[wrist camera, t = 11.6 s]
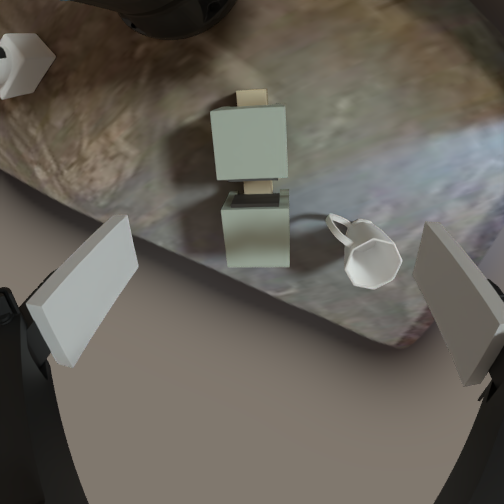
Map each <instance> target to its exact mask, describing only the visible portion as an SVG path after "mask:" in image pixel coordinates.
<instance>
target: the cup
mask: <svg viewBox="0 0 504 504" xmlns="http://www.w3.org/2000/svg"><path fill="white" fill-rule="evenodd" d="M332 220H333V221H336V222H339V223H341V224H343V225H345V226H346V227H348V228H347V231H346V234H345V235H343V234H342V233H341V232H340V230H339V229H338V228H337V227H336V226H335V224H334V222H333V221H332ZM325 221H326V224H327V226H328V228H329V229H330V231H331V232H332V233H333V235H334V236H335V237H336V238H337V239H338V240H339V241H340V242H342V243H343V244H344V245H345V247H344V270H345V271H346V273H347V275H348V276H349V278H350V280H351V281H352V283H353V285H354V286H358V287H363V288H369V289H376V288H378V287H380V286H382V285H384V284H386V283H388V282H390V281H392V280H394V278H395V276H396V274H397V272H398V270H399V267H400V265H401V263H402V258H401V256H400V254H399V252H398V249H397V247H396V245H395V243H394V242H393V241H392V240H391V239H390V238H389V237H388V236H387V235H386V234H385V233H384V232H383V231H382V230H381V229H380V228H378V227H377V226H375V225H373V224H372V222H371V221H368V220H364V219H358V220H356V221H354V222H352V223H351V222H350V221H348V220H347V219H345V218H343V217H341V216H338V215H335V214H329V215H328V216H327V218H326V220H325Z"/></svg>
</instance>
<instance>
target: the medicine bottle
mask: <svg viewBox="0 0 504 504" xmlns="http://www.w3.org/2000/svg"><path fill="white" fill-rule="evenodd" d="M55 58H56V56H55V54H54V53H53V52H52V51H51V50H50V49H49V48H48V47H47V46H46V44H45V43H44V42H43V41H42V40H41V39H40V38H39V37H38V35H37V34H35V33H9V34H4V35H3V37H2V39H1V41H0V98H1V99H2V100H4V99H8V98H12V97H16V96H20V95H25V94H30V93H33V92H34V91H35V89H36V88H37V86H38V84H39V83H40V81H41V79H42V78H43V76H44V75H45V73H46V72H47V70H48V69H49V67H50V66H51V64H52V63H53V61H54V60H55Z"/></svg>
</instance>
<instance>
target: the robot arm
mask: <svg viewBox="0 0 504 504" xmlns="http://www.w3.org/2000/svg"><path fill="white" fill-rule="evenodd" d="M61 1H68V0H61ZM69 1H74V2H79V3H84V4H88V5H92V6H96V7H100V8H104V9H108V10H112V11H116V12H117V13H118V14H119V15H120V17H121V18H122V20H123V21H124V22H125V23H126V24H127V25H128V26H129V27H130V28H131V29H133V30H134V31H136V32H138V33H140V34H142V35H145V36H148V37H152V38H156V39H162V40H178V39H184V38H188V37H192V36H194V35H197V34H200V33H202V32H204V31H206V30H208V29H209V28H211V27H212V26H214V25H215V24H217V23H218V22H219V21H220V20H221V19H222V18H224V17H225V16H226V14H227V13H228V12H229V11H230V10H231V8H232V7H233V5H234V4H235V2H236V0H69ZM137 268H138V262H137V258H136V253H135V249H134V244H133V240H132V235H131V230H130V225H129V220H128V215H113V216H112V217H111V218H110V219H108V220H107V221H106V222H105V223H104V224H103V225H102V226H101V227H100V228H99V229H98V230H97V231H96V232H95V233H93V234H92V235H91V236H90V237H89V238H88V239H87V240H86V241H85V242H84V243H83V244H82V245H81V246H80V247H79V248H78V249H77V250H76V251H75V252H74V253H73V254H72V255H71V256H70V257H69V258H68V259H67V260H66V261H65V262H64V263H63V264H62V265H61V266H60V267H59V268H58V269H56V270H55V271H53V272H52V273H50V274H49V275H48V276H47V277H46V278H45V280H44V282H42V283H41V284H40V285H39V286H38V289H35V290H34V291H33V292H32V294H31V295H30V296H29V297H28V298H27V299H26V300H25V301H24V302H23V304H22V305H21V306H20V307H18V305H17V303H16V301H15V298H14V296H13V294H12V292H11V290H10V289H9V288H7V287H2V288H0V504H89V503H88V501H87V498H86V496H85V493H84V491H83V488H82V486H81V483H80V480H79V477H78V474H77V472H76V469H75V466H74V463H73V460H72V456H71V453H70V450H69V447H68V443H67V440H66V436H65V433H64V429H63V425H62V421H61V417H60V413H59V409H58V404H57V400H56V395H55V390H54V385H53V379H52V374H51V368H50V365H49V362H48V361H47V357H48V356H49V354H50V353H51V354H52V355H53V357H54V359H55V360H56V362H57V364H60V365H64V366H68V367H71V368H73V367H74V366H75V364H76V362H77V361H78V359H79V357H80V356H81V354H82V352H83V350H84V349H85V347H86V346H87V344H88V342H89V341H90V339H91V338H92V336H93V334H94V333H95V331H96V330H97V328H98V327H99V325H100V323H101V322H102V320H103V319H104V317H105V316H106V314H107V313H108V311H109V309H110V308H111V307H112V305H113V303H114V302H115V300H116V299H117V297H118V296H119V295H120V293H121V291H122V290H123V289H124V287H125V286H126V284H127V282H128V281H129V279H130V278H131V277H132V275H133V274H134V272H135V271H136V270H137ZM413 277H414V279H415V281H416V283H417V285H418V287H419V289H420V291H421V292H422V294H423V296H424V298H425V300H426V302H427V304H428V306H429V308H430V311H431V313H432V315H433V317H434V319H435V321H436V323H437V325H438V327H439V330H440V332H441V334H442V336H443V338H444V340H445V343H446V345H447V347H448V350H449V352H450V354H451V357H452V359H453V362H454V364H455V366H456V369H457V371H458V374H459V376H460V379H461V382H462V384H463V387H465V386H470V385H476V384H480V383H481V382H482V381H483V379H484V377H485V376H486V375H487V373H488V372H489V373H490V375H491V378H492V380H491V382H490V383H489V385H488V386H487V387H486V389H485V390H484V392H483V393H482V394H481V396H480V397H479V399H478V401H480V400H481V399H482V398H483V397H484V398H483V401H482V404H481V406H480V409H479V412H478V414H477V417H476V419H475V422H474V424H473V427H472V429H471V432H470V434H469V436H468V439H467V441H466V443H465V445H464V448H463V450H462V452H461V454H460V456H459V458H458V460H457V462H456V464H455V466H454V468H453V470H452V472H451V474H450V476H449V478H448V480H447V481H446V483H445V485H444V487H443V488H442V490H441V492H440V494H439V496H438V497H437V499H436V500H435V502H434V504H504V294H503V293H502V291H501V290H500V288H499V287H498V286H497V285H496V284H494V283H493V282H492V281H491V280H489V279H486V278H485V276H484V275H483V274H482V272H481V271H480V270H479V268H478V267H477V266H476V265H475V263H474V262H473V261H472V260H471V258H470V257H469V256H468V255H467V254H466V252H465V251H464V250H463V249H462V248H461V246H460V245H459V244H458V243H457V242H456V240H455V239H454V238H453V237H452V236H451V235H450V234H449V232H448V231H447V230H446V229H445V228H444V227H443V226H442V225H441V223H439V222H425V225H424V230H423V234H422V239H421V243H420V247H419V251H418V255H417V259H416V263H415V267H414V271H413Z"/></svg>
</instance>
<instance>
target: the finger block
mask: <svg viewBox="0 0 504 504" xmlns="http://www.w3.org/2000/svg"><path fill="white" fill-rule="evenodd" d="M210 116H211V126H212V136H213V146H214V155H215V165H216V174H217V180H228V182H240V181H270V180H278V178H288V160H287V135H286V113H285V103H276V104H275V105H254V106H238V107H231V106H225V107H220V108H218V109H215V110H213V111H210Z"/></svg>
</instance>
